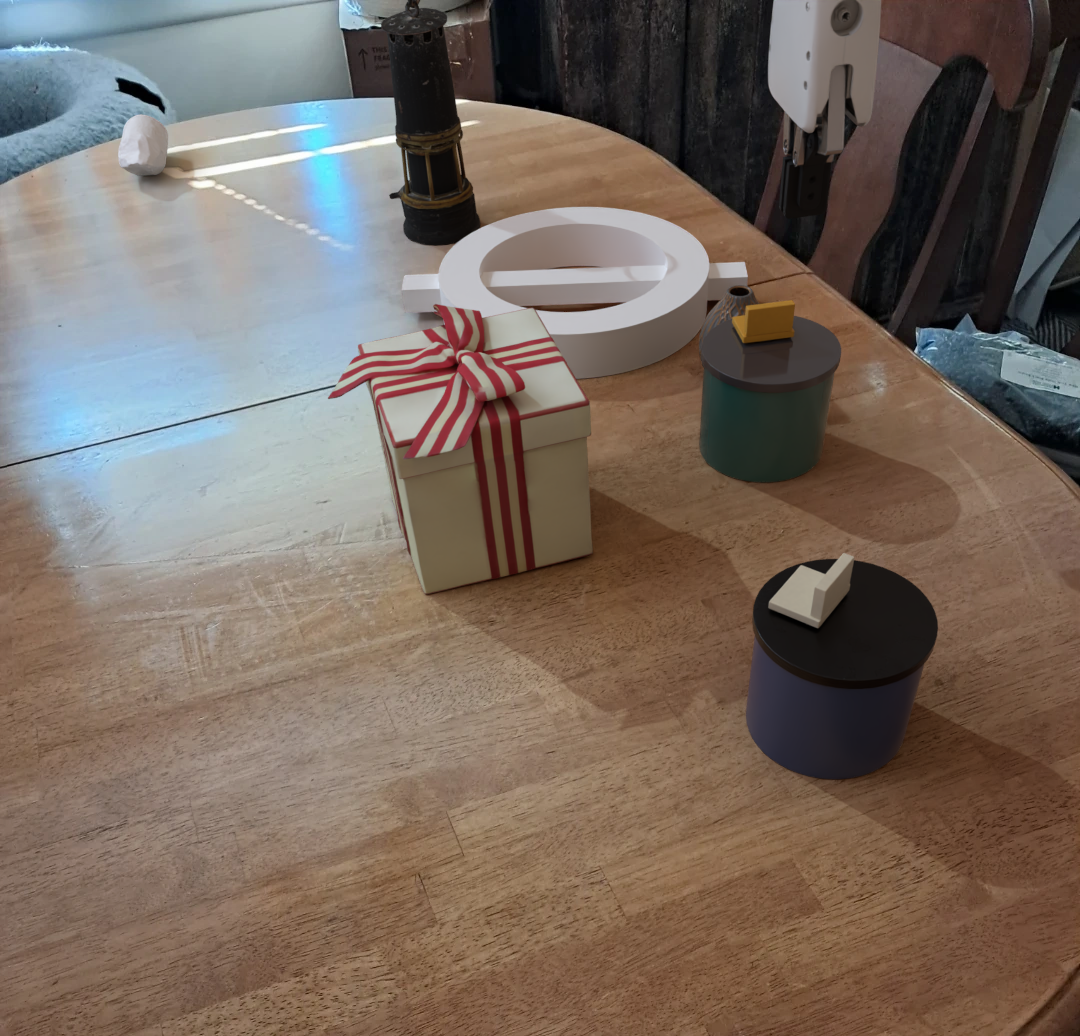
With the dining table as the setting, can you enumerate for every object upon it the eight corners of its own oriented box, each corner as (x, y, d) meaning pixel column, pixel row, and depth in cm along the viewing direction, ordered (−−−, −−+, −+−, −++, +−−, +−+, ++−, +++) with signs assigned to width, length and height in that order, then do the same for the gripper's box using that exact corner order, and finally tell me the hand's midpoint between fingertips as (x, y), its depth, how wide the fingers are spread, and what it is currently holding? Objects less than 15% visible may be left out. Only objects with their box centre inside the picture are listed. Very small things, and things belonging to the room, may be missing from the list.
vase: (688, 363, 114) (693, 278, 108) (756, 353, 115) (764, 268, 108) (708, 400, 109) (713, 314, 103) (778, 389, 110) (788, 303, 104)
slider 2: (849, 590, 75) (856, 554, 73) (818, 629, 73) (824, 593, 71) (799, 571, 77) (805, 535, 75) (767, 608, 74) (772, 572, 72)
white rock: (123, 194, 149) (109, 149, 145) (129, 158, 157) (116, 115, 153) (170, 189, 150) (157, 144, 146) (173, 153, 158) (161, 109, 154)
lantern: (388, 229, 138) (344, -65, 116) (447, 204, 142) (415, -85, 120) (435, 252, 133) (399, -50, 111) (495, 226, 137) (471, -72, 115)
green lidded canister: (843, 475, 100) (861, 373, 93) (714, 492, 100) (721, 391, 92) (803, 403, 108) (816, 304, 101) (682, 419, 107) (686, 321, 100)
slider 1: (793, 337, 97) (797, 303, 95) (743, 343, 97) (745, 310, 95) (781, 316, 100) (785, 283, 97) (731, 322, 99) (734, 289, 97)
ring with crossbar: (390, 315, 124) (383, 272, 120) (574, 226, 136) (573, 185, 133) (574, 411, 109) (572, 366, 106) (761, 301, 122) (765, 258, 118)
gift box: (344, 507, 101) (304, 324, 88) (539, 454, 105) (528, 272, 92) (398, 627, 90) (361, 439, 77) (614, 564, 94) (613, 374, 81)
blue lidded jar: (936, 702, 82) (967, 597, 74) (864, 809, 76) (890, 706, 68) (789, 641, 87) (805, 536, 79) (710, 736, 81) (719, 633, 73)
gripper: (930, -50, 70) (884, 247, 83) (847, -104, 80) (818, 168, 93) (810, -35, 69) (783, 261, 83) (742, -91, 80) (728, 180, 93)
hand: (802, 211), depth 88 cm, fingers closed
